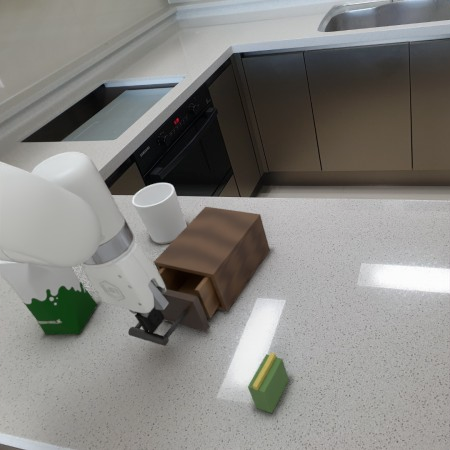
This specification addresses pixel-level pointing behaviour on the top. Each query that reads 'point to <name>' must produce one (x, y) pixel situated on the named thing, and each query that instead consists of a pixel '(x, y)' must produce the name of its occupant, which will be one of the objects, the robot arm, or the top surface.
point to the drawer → (183, 304)
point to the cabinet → (219, 250)
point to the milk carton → (51, 296)
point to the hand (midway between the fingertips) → (154, 324)
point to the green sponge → (268, 383)
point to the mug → (160, 212)
